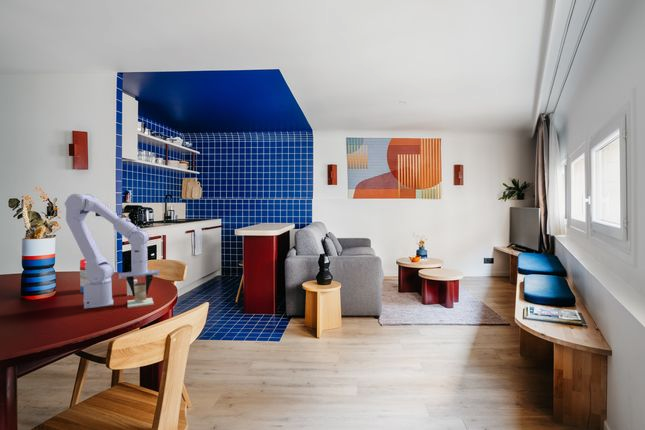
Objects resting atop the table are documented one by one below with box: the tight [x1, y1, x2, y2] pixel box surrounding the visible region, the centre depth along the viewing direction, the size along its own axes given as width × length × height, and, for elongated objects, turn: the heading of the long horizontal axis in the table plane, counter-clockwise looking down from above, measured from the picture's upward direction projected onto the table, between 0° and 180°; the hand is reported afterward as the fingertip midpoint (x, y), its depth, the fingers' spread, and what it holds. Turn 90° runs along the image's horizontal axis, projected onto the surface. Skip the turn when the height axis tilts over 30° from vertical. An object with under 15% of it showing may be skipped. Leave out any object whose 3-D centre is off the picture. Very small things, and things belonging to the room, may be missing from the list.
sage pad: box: [127, 297, 155, 309], centre depth 144 cm, size 9×9×1 cm
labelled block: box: [133, 282, 147, 301], centre depth 144 cm, size 4×4×6 cm
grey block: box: [126, 278, 138, 297], centre depth 158 cm, size 4×4×6 cm
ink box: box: [79, 258, 90, 294], centre depth 164 cm, size 8×5×15 cm, turn 179°
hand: (140, 294), depth 144 cm, fingers closed on labelled block, 4 cm apart
